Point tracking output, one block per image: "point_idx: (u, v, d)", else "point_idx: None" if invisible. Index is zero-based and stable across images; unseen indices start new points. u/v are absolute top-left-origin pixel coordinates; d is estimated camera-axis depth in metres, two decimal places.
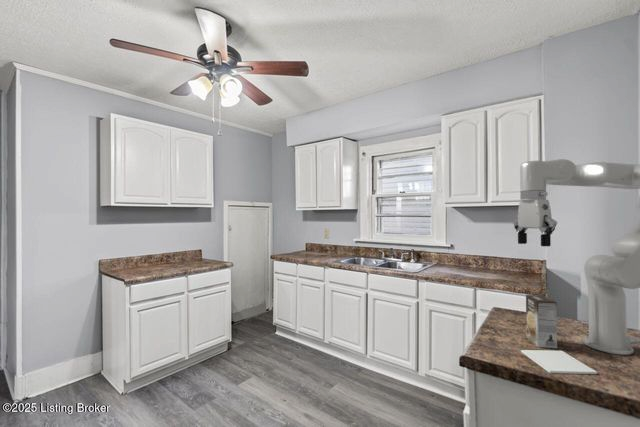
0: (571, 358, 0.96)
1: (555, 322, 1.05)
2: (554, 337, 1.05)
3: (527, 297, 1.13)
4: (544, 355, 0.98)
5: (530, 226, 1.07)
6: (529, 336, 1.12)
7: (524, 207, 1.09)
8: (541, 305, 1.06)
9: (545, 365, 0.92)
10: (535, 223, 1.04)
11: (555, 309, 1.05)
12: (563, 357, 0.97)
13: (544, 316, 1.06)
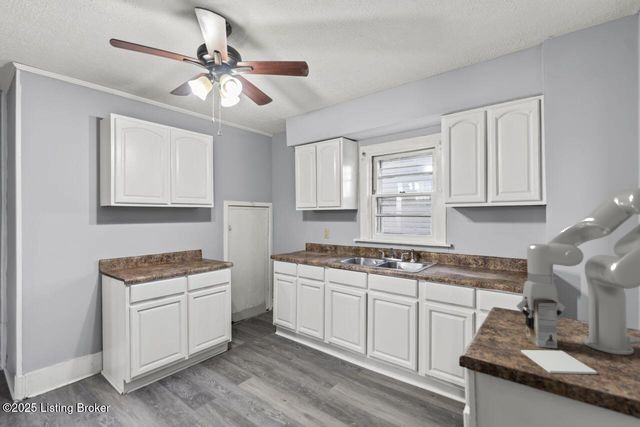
0: (571, 358, 0.96)
1: (555, 322, 1.05)
2: (554, 337, 1.05)
3: None
4: (544, 355, 0.98)
5: None
6: (529, 336, 1.12)
7: (541, 291, 1.08)
8: (541, 305, 1.06)
9: (545, 365, 0.92)
10: None
11: (555, 309, 1.05)
12: (563, 357, 0.97)
13: (544, 316, 1.06)
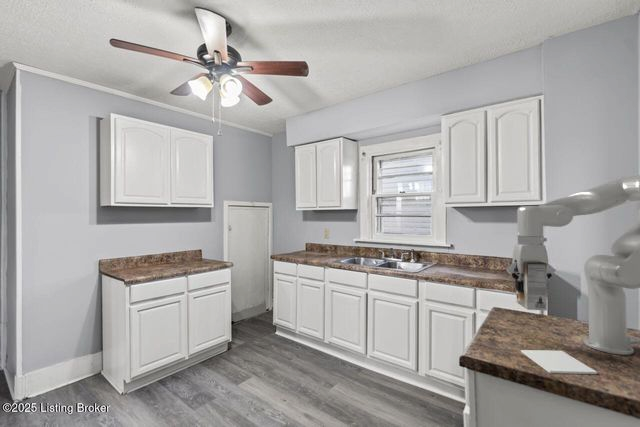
0: (571, 358, 0.96)
1: (545, 284, 1.03)
2: (544, 299, 1.03)
3: None
4: (544, 355, 0.98)
5: None
6: (519, 301, 1.09)
7: (531, 253, 1.05)
8: (531, 267, 1.03)
9: (545, 365, 0.92)
10: None
11: (545, 270, 1.03)
12: (563, 357, 0.97)
13: (534, 278, 1.03)
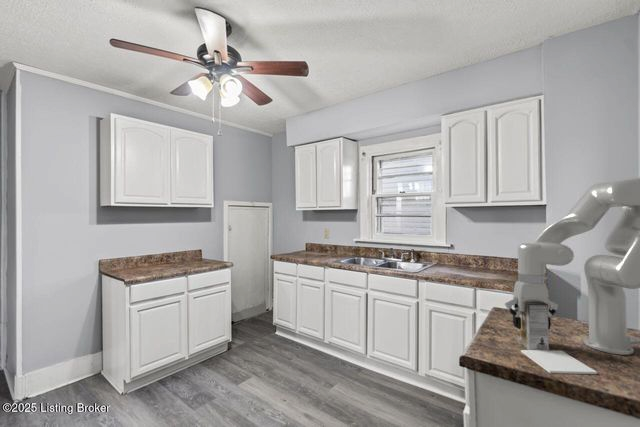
0: (571, 358, 0.96)
1: (547, 325, 1.02)
2: (545, 340, 1.02)
3: None
4: (544, 355, 0.98)
5: None
6: (521, 339, 1.09)
7: (532, 291, 1.05)
8: (532, 307, 1.03)
9: (545, 365, 0.92)
10: None
11: (546, 312, 1.02)
12: (563, 357, 0.97)
13: (536, 319, 1.03)
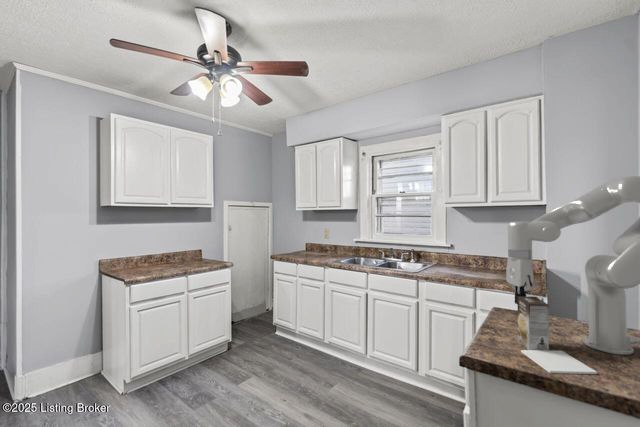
0: (571, 358, 0.96)
1: (547, 325, 1.02)
2: (546, 340, 1.02)
3: (519, 299, 1.10)
4: (544, 355, 0.98)
5: None
6: (521, 339, 1.09)
7: None
8: (533, 308, 1.03)
9: (545, 365, 0.92)
10: None
11: (547, 312, 1.02)
12: (563, 357, 0.97)
13: (536, 320, 1.03)
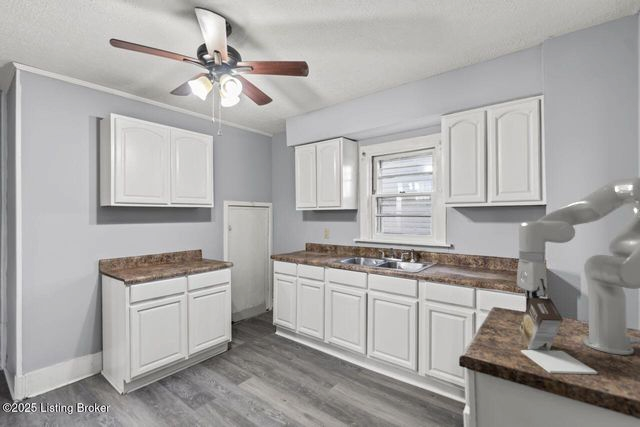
0: (571, 358, 0.96)
1: (555, 334, 0.98)
2: (549, 344, 1.01)
3: (531, 302, 1.02)
4: (544, 355, 0.98)
5: None
6: (523, 333, 1.08)
7: None
8: (545, 322, 0.96)
9: (545, 365, 0.92)
10: None
11: (559, 325, 0.96)
12: (563, 357, 0.97)
13: (545, 330, 0.97)
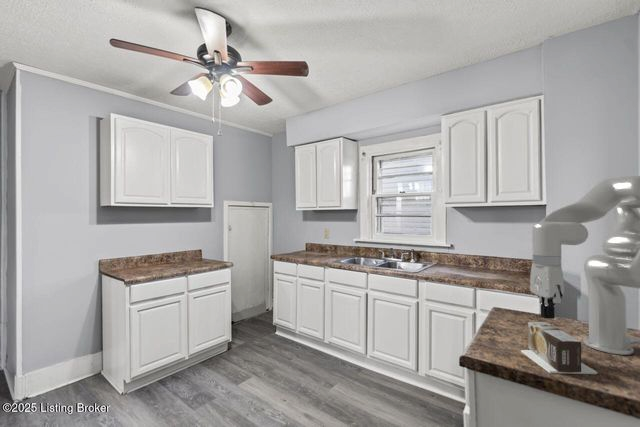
0: None
1: None
2: None
3: (556, 345, 0.89)
4: None
5: None
6: (530, 332, 1.03)
7: None
8: None
9: (545, 365, 0.92)
10: None
11: None
12: None
13: None
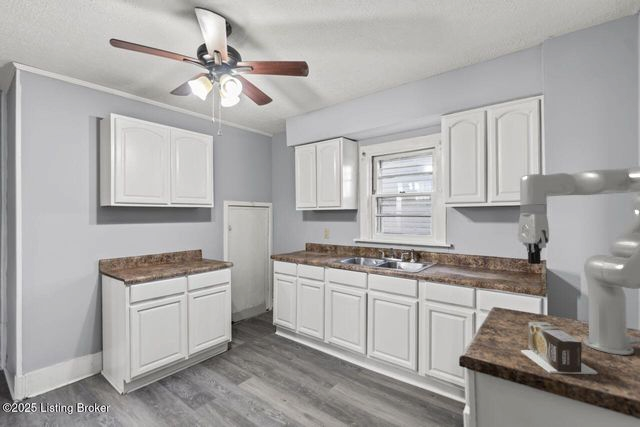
0: None
1: None
2: None
3: (556, 345, 0.89)
4: None
5: None
6: (530, 332, 1.03)
7: None
8: None
9: (545, 365, 0.92)
10: None
11: None
12: None
13: None
